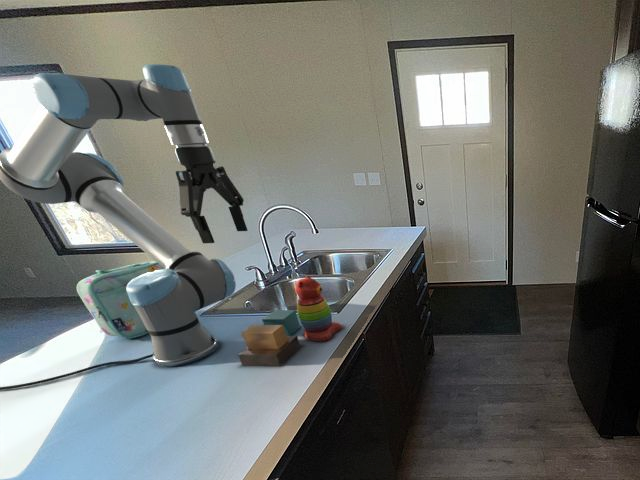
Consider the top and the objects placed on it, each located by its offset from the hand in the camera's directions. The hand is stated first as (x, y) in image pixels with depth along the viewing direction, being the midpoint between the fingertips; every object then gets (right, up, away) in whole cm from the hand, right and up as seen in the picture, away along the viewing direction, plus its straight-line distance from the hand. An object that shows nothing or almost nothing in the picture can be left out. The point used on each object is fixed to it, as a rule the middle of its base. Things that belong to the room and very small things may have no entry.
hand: (226, 236), depth 102 cm
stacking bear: (+19, -25, +17) cm, 35 cm away
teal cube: (+6, -24, +19) cm, 31 cm away
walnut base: (+9, -32, +6) cm, 34 cm away
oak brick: (+9, -29, +4) cm, 31 cm away
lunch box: (-43, -22, +27) cm, 55 cm away
